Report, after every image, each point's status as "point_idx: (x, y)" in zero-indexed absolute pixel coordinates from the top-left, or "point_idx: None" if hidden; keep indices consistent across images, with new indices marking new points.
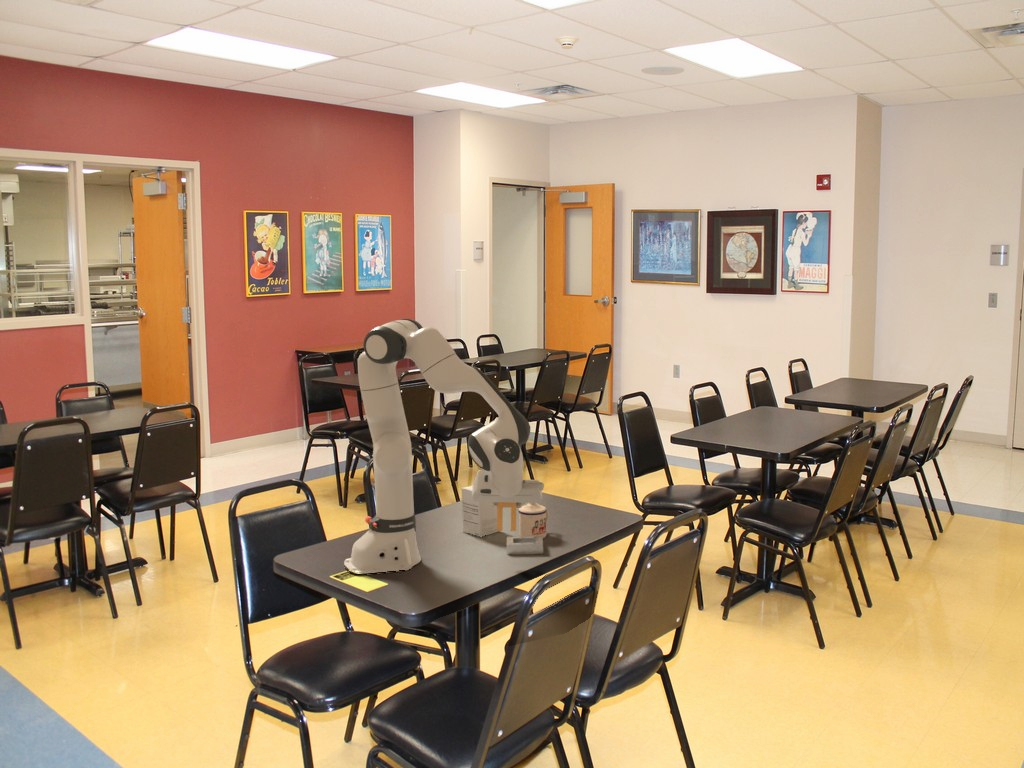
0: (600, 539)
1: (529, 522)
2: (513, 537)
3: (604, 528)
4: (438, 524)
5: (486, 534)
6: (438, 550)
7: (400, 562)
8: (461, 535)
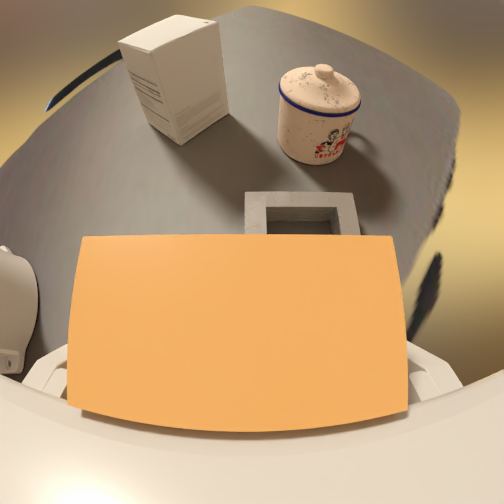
0: (451, 182)
1: (313, 131)
2: (266, 198)
3: (435, 128)
4: (116, 97)
5: (195, 134)
6: (75, 237)
7: (2, 353)
8: (140, 139)
